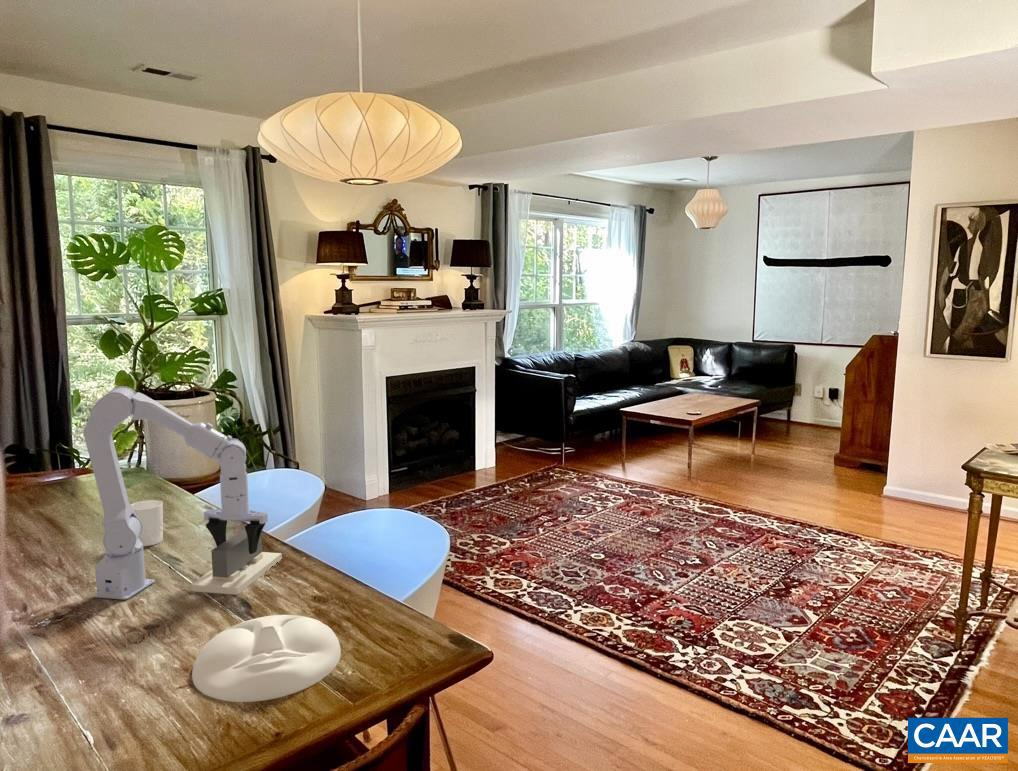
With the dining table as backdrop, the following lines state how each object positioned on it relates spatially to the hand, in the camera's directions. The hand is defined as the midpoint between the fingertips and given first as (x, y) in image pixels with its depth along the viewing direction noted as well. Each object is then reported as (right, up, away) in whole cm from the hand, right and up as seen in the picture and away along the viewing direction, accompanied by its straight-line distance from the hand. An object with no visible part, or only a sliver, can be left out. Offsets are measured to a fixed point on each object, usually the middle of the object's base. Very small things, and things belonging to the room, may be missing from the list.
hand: (237, 551), depth 161 cm
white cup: (-31, -3, +21) cm, 38 cm away
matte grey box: (0, -3, +1) cm, 3 cm away
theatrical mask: (+19, -12, -36) cm, 42 cm away
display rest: (0, -6, +1) cm, 6 cm away
